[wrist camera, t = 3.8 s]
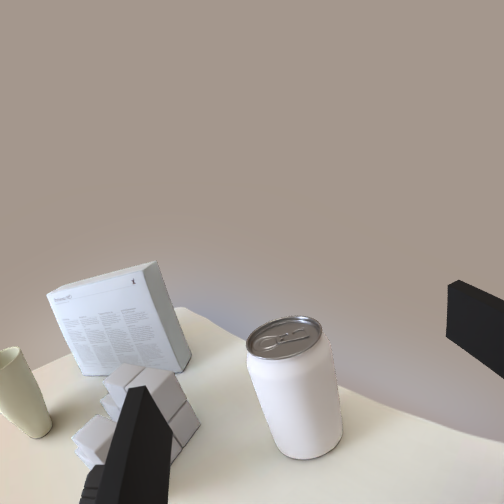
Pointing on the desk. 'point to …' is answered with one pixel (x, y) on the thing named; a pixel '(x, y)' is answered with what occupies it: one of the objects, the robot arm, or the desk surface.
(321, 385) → the can
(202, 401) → the desk surface
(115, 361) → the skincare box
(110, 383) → the stacked white cubes
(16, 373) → the mug
